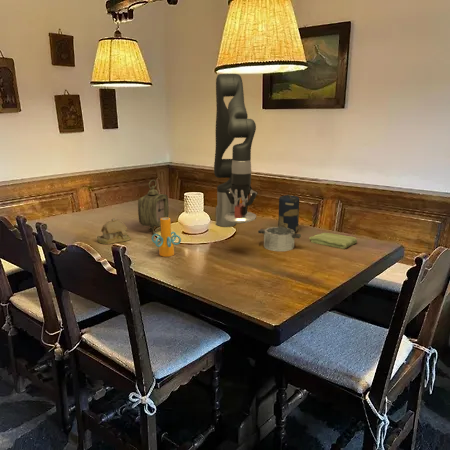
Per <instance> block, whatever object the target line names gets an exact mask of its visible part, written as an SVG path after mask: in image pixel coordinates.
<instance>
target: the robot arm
mask: <svg viewBox="0 0 450 450" xmlns="http://www.w3.org/2000/svg"><path fill="white" fill-rule="evenodd" d="M215 97H216V100H215V101H216V102H215V104H216V112H215V113H216V114H215V115H216V116H215V153H214V164H213V174H214V176H215V177H216V178H218V179H219V178H220V179H224V178H225V179H228V180H227V181H225V182H224V183H220V184H218V185H217V187H216V192H217V193H216V195H217V196H216V197H217V198H216V199H217V202H216V203H217V205H216V206H215V225H216V226H218V227H222V228H223V227H226V228H229V227H230V228H231V227H235V226H236V224H237V223H234V222H230V221H227V220H226V219H225V215H226V214H228V213H231V212H235V206H237V205H239V204H240V203H242V204H243V207H242V216H245V215H246V214H247V212H248V207H249V206H250V205H252V204H253V202H254V201H255V199H256V198H257V196H258V192H257V191H255V190H253V189H252V185H251V184H252V161H251V160H252V159H251V157H252V155H251V154H252V152H251V151H252V145H253V139H254V137H255V134H256V129H257V124H256V121H255V120H254V119H252V118H249V117H248V111H247V108H246V104H245V93H244V84H243V79H242V76H241V75H240V74H239V73H219V74H217V76H216V79H215ZM225 97H226V98H227V97H232V98H231V99H230V101H229V102H228V105H226V102H225V100H224V98H225ZM237 138H239V139H244V141H243V142H241V143H237V144H234V145H233V146H232V148H231V149H232V154H231V155H232V158H223V157H224V154H225V152H226V151H227V149H228V148H229V147H230V146H231V144H232V143H233V142H234V140H235V139H237ZM249 194H250V197H249Z"/></svg>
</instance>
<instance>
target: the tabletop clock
mask: <svg viewBox="0 0 450 450" xmlns="http://www.w3.org/2000/svg"><path fill="white" fill-rule="evenodd" d="M152 182H154V183H155V185H151V183H152ZM156 187H157V181H156V180H155V179H151V180H149V182H148V188H149V190H148V192H147V193H146V194H145V195H143V196H142V197H140V198H138V201H137V213H138V214H137V215H138V216H137V217H138V221H139V222H138V223H139V224H140V225H141V226H146V227H149V228H148V231H149V232H151V233H152V235H154V234H157V233H156V231H155V227H156V228H158V227H161V223H160V219H161V218H169V197H168V195H167V194H164V193H163V194H162V193H159V191H158V190H157V189H155V188H156Z"/></svg>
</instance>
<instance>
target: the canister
mask: <svg viewBox="0 0 450 450" xmlns="http://www.w3.org/2000/svg"><path fill="white" fill-rule="evenodd" d="M299 212H300V197H299V196H296V195H290V194H286V195H282V196H281V195H280V196H279V198H278V224H277V225H278V226H277V227H285V228H290V229H293V230H294V231H295V233H297V232H298V230H299V223H300V222H299V219H300V218H299V217H300V214H299Z"/></svg>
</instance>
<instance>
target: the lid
mask: <svg viewBox="0 0 450 450" xmlns="http://www.w3.org/2000/svg"><path fill="white" fill-rule="evenodd" d="M242 207H243V204H242V202H240V204H239V205H237V206H235V212H231V213H228V214H226V215H225V219H226V220H227V221H230V222H234V223H236V224H247V223H249V222H252V221H255V220H256V219H257V214H256V213H254V212H251V211H247V214H246V215H245V216H242Z"/></svg>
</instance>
